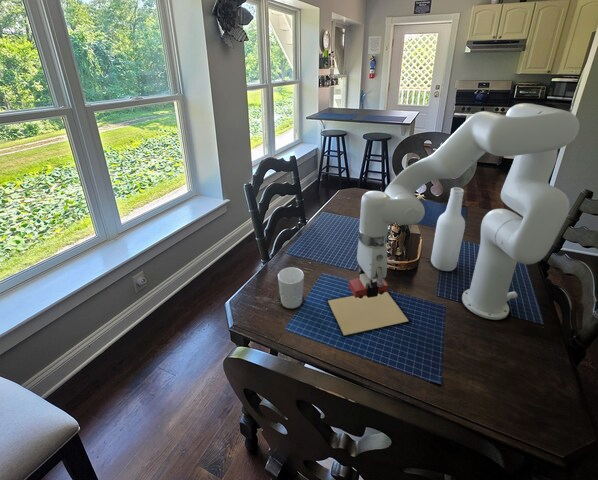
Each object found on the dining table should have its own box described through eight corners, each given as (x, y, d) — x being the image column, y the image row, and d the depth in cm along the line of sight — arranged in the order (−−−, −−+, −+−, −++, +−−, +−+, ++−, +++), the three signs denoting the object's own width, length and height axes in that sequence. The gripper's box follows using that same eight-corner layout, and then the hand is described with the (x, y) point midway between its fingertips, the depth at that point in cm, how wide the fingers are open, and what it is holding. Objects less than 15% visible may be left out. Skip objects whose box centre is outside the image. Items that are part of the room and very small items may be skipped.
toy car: (379, 282, 97) (380, 269, 95) (387, 293, 93) (388, 280, 91) (348, 288, 95) (349, 275, 93) (355, 299, 91) (356, 286, 89)
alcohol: (450, 257, 121) (465, 184, 110) (460, 272, 113) (477, 194, 102) (427, 257, 122) (439, 184, 110) (435, 272, 114) (449, 194, 102)
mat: (385, 289, 105) (385, 289, 105) (408, 321, 93) (408, 320, 93) (327, 301, 101) (327, 300, 101) (344, 335, 89) (344, 335, 88)
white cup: (282, 312, 97) (281, 285, 93) (276, 295, 104) (275, 269, 100) (307, 307, 99) (306, 280, 95) (300, 290, 106) (299, 265, 102)
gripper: (401, 251, 80) (394, 307, 87) (371, 220, 95) (367, 270, 102) (374, 255, 78) (368, 313, 85) (347, 223, 94) (345, 274, 101)
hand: (367, 289), depth 94 cm, fingers closed on toy car, 5 cm apart
